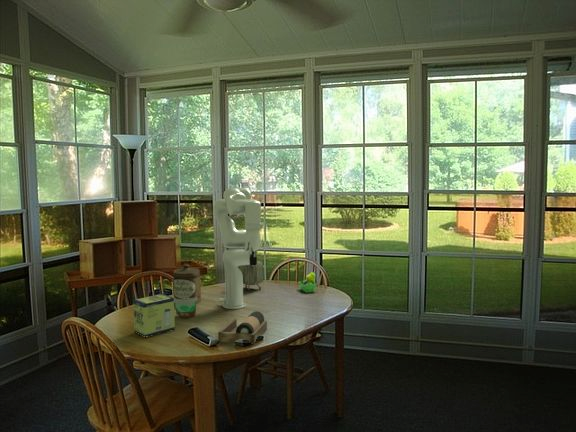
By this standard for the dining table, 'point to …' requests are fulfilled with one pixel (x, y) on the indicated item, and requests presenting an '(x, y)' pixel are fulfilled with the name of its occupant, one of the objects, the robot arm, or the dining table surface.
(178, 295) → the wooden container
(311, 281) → the fruit basket
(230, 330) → the tray
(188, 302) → the food container
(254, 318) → the travel mug
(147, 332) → the protein box
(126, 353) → the dining table surface
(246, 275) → the tabletop clock
